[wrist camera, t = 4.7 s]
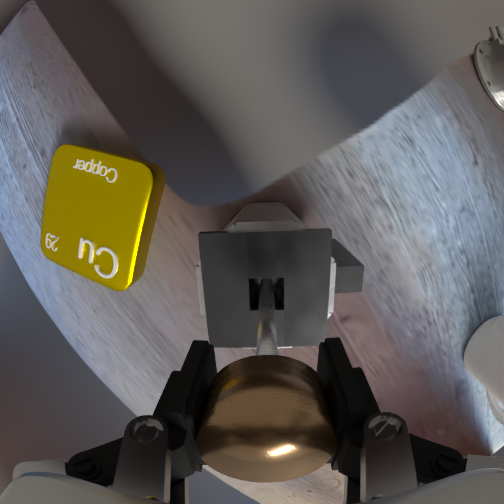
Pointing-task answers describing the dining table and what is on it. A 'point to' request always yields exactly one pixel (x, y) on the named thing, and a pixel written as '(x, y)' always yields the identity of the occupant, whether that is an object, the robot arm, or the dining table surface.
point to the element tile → (100, 214)
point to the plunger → (266, 408)
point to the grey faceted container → (272, 276)
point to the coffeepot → (488, 361)
